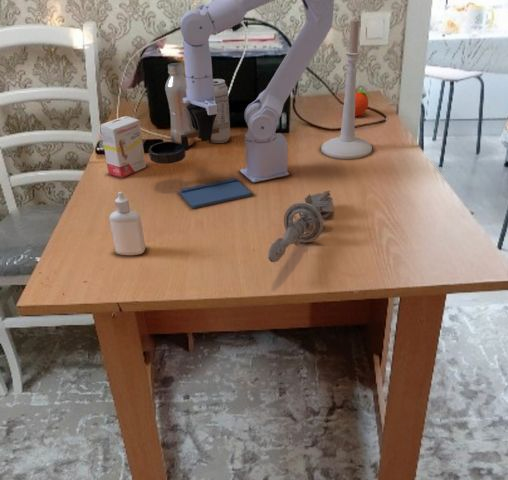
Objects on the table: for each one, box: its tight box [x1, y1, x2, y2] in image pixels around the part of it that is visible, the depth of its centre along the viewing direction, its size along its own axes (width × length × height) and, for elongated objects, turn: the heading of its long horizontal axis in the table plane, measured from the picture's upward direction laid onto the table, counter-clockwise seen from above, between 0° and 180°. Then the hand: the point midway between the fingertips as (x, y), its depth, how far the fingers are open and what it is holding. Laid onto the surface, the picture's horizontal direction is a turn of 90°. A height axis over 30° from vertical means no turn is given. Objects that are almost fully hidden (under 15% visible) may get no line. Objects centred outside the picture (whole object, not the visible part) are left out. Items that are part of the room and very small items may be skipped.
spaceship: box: [267, 190, 334, 263], centre depth 112 cm, size 8×35×8 cm
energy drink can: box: [210, 78, 231, 144], centre depth 156 cm, size 6×6×15 cm
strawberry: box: [355, 89, 373, 117], centre depth 171 cm, size 8×7×7 cm
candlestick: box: [321, 17, 373, 160], centre depth 143 cm, size 13×13×30 cm
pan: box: [148, 126, 219, 165], centre depth 133 cm, size 16×8×5 cm, turn 114°
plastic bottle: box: [164, 62, 196, 147], centre depth 152 cm, size 6×7×20 cm
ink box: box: [100, 115, 147, 179], centre depth 142 cm, size 9×5×12 cm, turn 143°
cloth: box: [178, 177, 253, 209], centre depth 133 cm, size 14×9×1 cm, turn 114°
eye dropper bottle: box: [108, 191, 146, 256], centre depth 110 cm, size 4×6×12 cm
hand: (204, 138), depth 135 cm, fingers closed on pan
